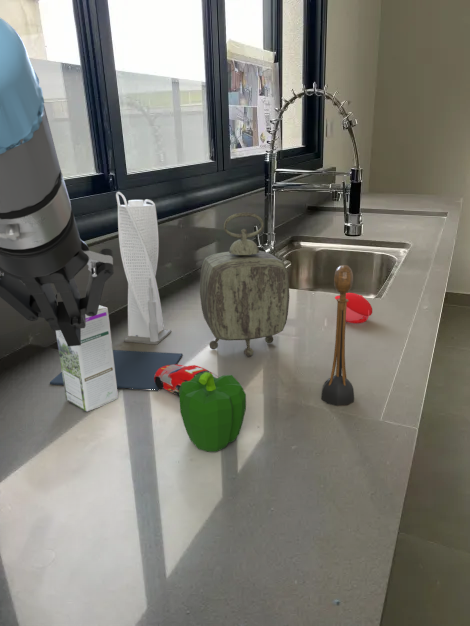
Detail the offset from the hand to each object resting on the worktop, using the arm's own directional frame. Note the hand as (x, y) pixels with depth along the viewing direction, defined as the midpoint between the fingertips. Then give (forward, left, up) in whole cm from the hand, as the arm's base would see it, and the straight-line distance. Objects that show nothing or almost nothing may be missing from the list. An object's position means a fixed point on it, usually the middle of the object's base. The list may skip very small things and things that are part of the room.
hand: (74, 335), depth 61 cm
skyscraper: (-4, +35, -14) cm, 38 cm away
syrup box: (-3, +8, -14) cm, 16 cm away
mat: (-3, +19, -13) cm, 24 cm away
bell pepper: (+17, 0, -14) cm, 22 cm away
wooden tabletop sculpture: (+33, +14, -14) cm, 38 cm away
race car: (+11, +12, -13) cm, 21 cm away
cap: (+37, +49, -14) cm, 63 cm away
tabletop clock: (+17, +29, -14) cm, 36 cm away
